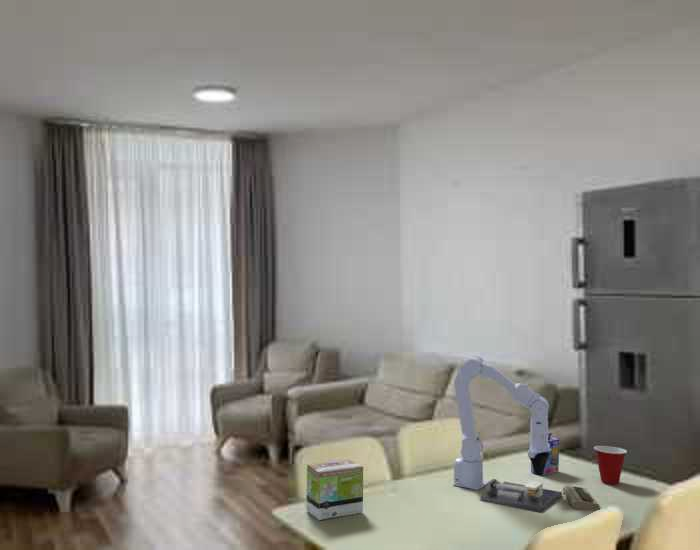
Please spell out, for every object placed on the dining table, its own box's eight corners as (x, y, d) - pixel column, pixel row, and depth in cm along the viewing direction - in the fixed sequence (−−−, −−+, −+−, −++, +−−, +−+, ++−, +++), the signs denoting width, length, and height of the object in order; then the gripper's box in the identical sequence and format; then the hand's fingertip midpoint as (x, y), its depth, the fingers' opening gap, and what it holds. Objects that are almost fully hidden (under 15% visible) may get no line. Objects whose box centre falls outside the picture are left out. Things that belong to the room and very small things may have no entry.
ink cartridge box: (542, 476, 254) (542, 436, 254) (530, 473, 259) (529, 433, 259) (560, 471, 260) (559, 432, 260) (548, 468, 265) (547, 429, 264)
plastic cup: (633, 483, 245) (633, 448, 245) (614, 489, 239) (614, 453, 239) (607, 476, 254) (606, 442, 254) (587, 481, 248) (587, 447, 248)
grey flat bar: (491, 488, 233) (491, 483, 233) (496, 485, 236) (496, 480, 236) (534, 495, 225) (534, 490, 225) (539, 492, 228) (538, 487, 228)
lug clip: (524, 498, 227) (524, 486, 227) (531, 492, 232) (531, 481, 232) (535, 500, 225) (535, 488, 225) (542, 495, 230) (542, 483, 230)
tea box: (319, 521, 211) (319, 472, 211) (306, 511, 220) (305, 463, 220) (364, 513, 218) (363, 465, 218) (349, 503, 227) (348, 457, 227)
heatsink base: (480, 500, 229) (480, 486, 229) (504, 485, 245) (504, 472, 245) (540, 512, 218) (540, 497, 218) (561, 495, 233) (561, 482, 233)
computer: (600, 511, 220) (600, 500, 220) (573, 510, 220) (573, 500, 220) (587, 494, 235) (587, 484, 235) (562, 494, 236) (562, 484, 236)
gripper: (542, 440, 229) (542, 482, 229) (558, 431, 241) (558, 471, 241) (521, 437, 233) (521, 478, 233) (538, 428, 245) (538, 468, 245)
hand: (538, 474), depth 237 cm, fingers closed
